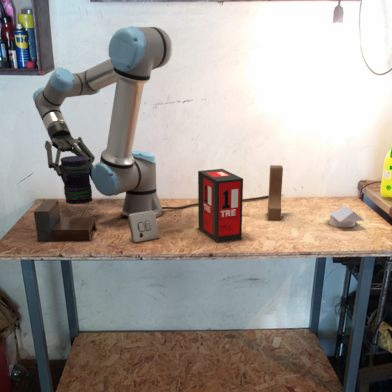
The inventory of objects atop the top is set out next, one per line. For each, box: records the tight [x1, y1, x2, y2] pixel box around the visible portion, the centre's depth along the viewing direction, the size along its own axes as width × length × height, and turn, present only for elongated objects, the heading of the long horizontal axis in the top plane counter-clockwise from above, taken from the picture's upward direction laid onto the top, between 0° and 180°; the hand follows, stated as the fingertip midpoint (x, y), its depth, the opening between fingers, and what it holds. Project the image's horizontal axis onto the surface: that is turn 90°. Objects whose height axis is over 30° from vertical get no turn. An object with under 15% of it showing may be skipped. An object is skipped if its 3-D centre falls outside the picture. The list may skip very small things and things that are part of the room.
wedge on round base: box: [329, 204, 365, 228], centre depth 203 cm, size 9×7×13 cm
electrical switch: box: [127, 210, 160, 243], centre depth 192 cm, size 9×5×9 cm, turn 121°
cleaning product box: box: [197, 168, 244, 244], centre depth 193 cm, size 16×9×20 cm, turn 22°
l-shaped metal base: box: [33, 199, 97, 242], centre depth 196 cm, size 18×14×10 cm
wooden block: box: [267, 164, 284, 221], centre depth 211 cm, size 9×4×18 cm, turn 176°
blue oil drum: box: [59, 155, 93, 205], centre depth 205 cm, size 10×10×15 cm
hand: (80, 180), depth 203 cm, fingers closed on blue oil drum, 10 cm apart
